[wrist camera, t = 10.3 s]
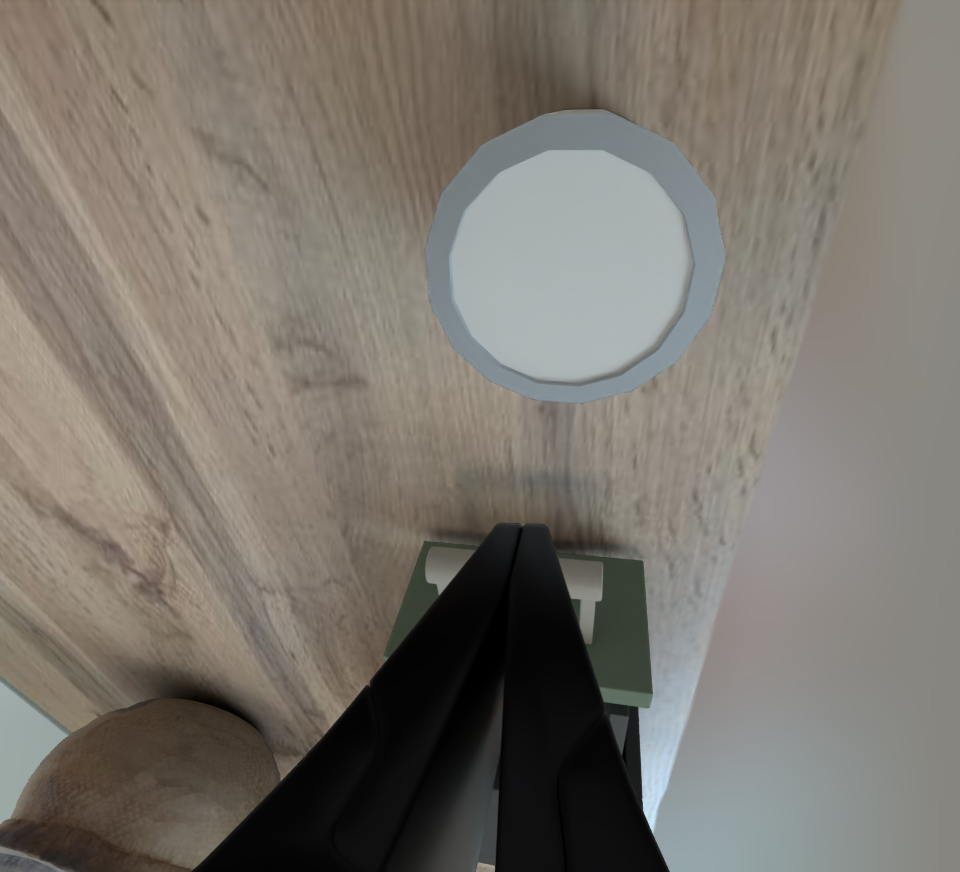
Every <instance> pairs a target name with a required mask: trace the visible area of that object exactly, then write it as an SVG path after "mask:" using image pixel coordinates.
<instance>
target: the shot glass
mask: <svg viewBox="0 0 960 872" xmlns="http://www.w3.org/2000/svg"><path fill="white" fill-rule="evenodd" d="M425 257H426V268H427V278H428V289H429V300H430V304H431V306H432V308H433V310H434V312H435V314H436V315H437V317H438V319H439V321H440V323H441V325H442V327H443V329H444V331H445V333H446V335H447V337H448V339H449V341H450V343H451V345H452V347H453V348H454V349H455V350H456V351H457V352H458V353H459V354H460V355H461V356H462V357H464V358H465V359H466V360H467V361H468V362H469V363H470V364H471V365H472V366H473V367H474V368H475V369H477V370H478V371H479V372H480V373H481V374H482V375H483V376H484V377H485V378H486V379H487V380H488V381H491V382H493V383H495V384H498V385H500V386H502V387H505V388H507V389H509V390H512V391H514V392H516V393H519V394H521V395H523V396H526V397H528V398H530V399H533V400H543V401H556V402H569V403H581V404H583V403H587V402H591V401H595V400H599V399H602V398H606V397H610V396H614V395H618V394H622V393H626V392H630V391H633V390H634V389H636V388H638V387H639V386H641V385H642V384H644V383H645V382H647V381H648V380H650V379H651V378H653V377H654V376H656V375H657V374H659V373H660V372H662V371H663V370H665V369H667V368H668V367H670V366H671V365H673V364H674V363H676V362H677V361H678V360H679V358H680V357H681V356H682V354H683V353H684V352H685V350H686V349H687V348H688V346H689V345H690V344H691V342H692V341H693V339H694V338H695V337H696V335H697V334H698V333H699V331H700V330H701V329H702V327H703V326H704V325H705V323H706V322H707V321H708V319H709V318H710V317H711V314H712V310H713V306H714V302H715V298H716V294H717V290H718V286H719V282H720V279H721V275H722V271H723V267H724V263H725V259H726V256H725V251H724V245H723V240H722V234H721V229H720V223H719V218H718V212H717V207H716V201H715V196H714V195H713V193H712V192H711V191H710V189H709V188H708V187H707V185H706V184H705V183H704V181H703V180H702V179H701V177H700V176H699V175H698V173H697V172H696V171H695V169H694V168H693V167H692V165H691V164H690V163H689V161H688V160H687V159H686V157H685V156H684V155H683V153H682V152H681V151H680V149H679V148H678V147H677V145H676V144H675V143H673V142H671V141H669V140H667V139H665V138H663V137H661V136H659V135H657V134H655V133H653V132H651V131H649V130H647V129H645V128H642V127H640V126H638V125H636V124H634V123H632V122H630V121H628V120H626V119H624V118H622V117H620V116H618V115H616V114H614V113H611V112H609V111H607V110H605V109H584V110H563V111H558V112H553V113H547V114H543V115H541V116H539V117H537V118H535V119H533V120H531V121H529V122H527V123H525V124H522V125H520V126H518V127H516V128H514V129H512V130H510V131H508V132H506V133H504V134H502V135H500V136H498V137H496V138H494V139H492V140H490V141H488V142H485V143H483V144H482V145H481V146H480V148H479V149H478V150H477V151H476V152H475V154H474V155H473V156H472V157H471V158H470V160H469V161H468V162H467V163H466V164H465V165H464V167H463V168H462V169H461V170H460V171H459V173H458V174H457V175H456V176H455V177H454V179H453V180H452V181H451V182H450V183H449V185H448V186H447V187H446V188H445V189H444V190H443V192H442V193H441V197H440V200H439V203H438V207H437V210H436V213H435V216H434V220H433V223H432V226H431V229H430V233H429V236H428V239H427V243H426V246H425Z"/></svg>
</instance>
